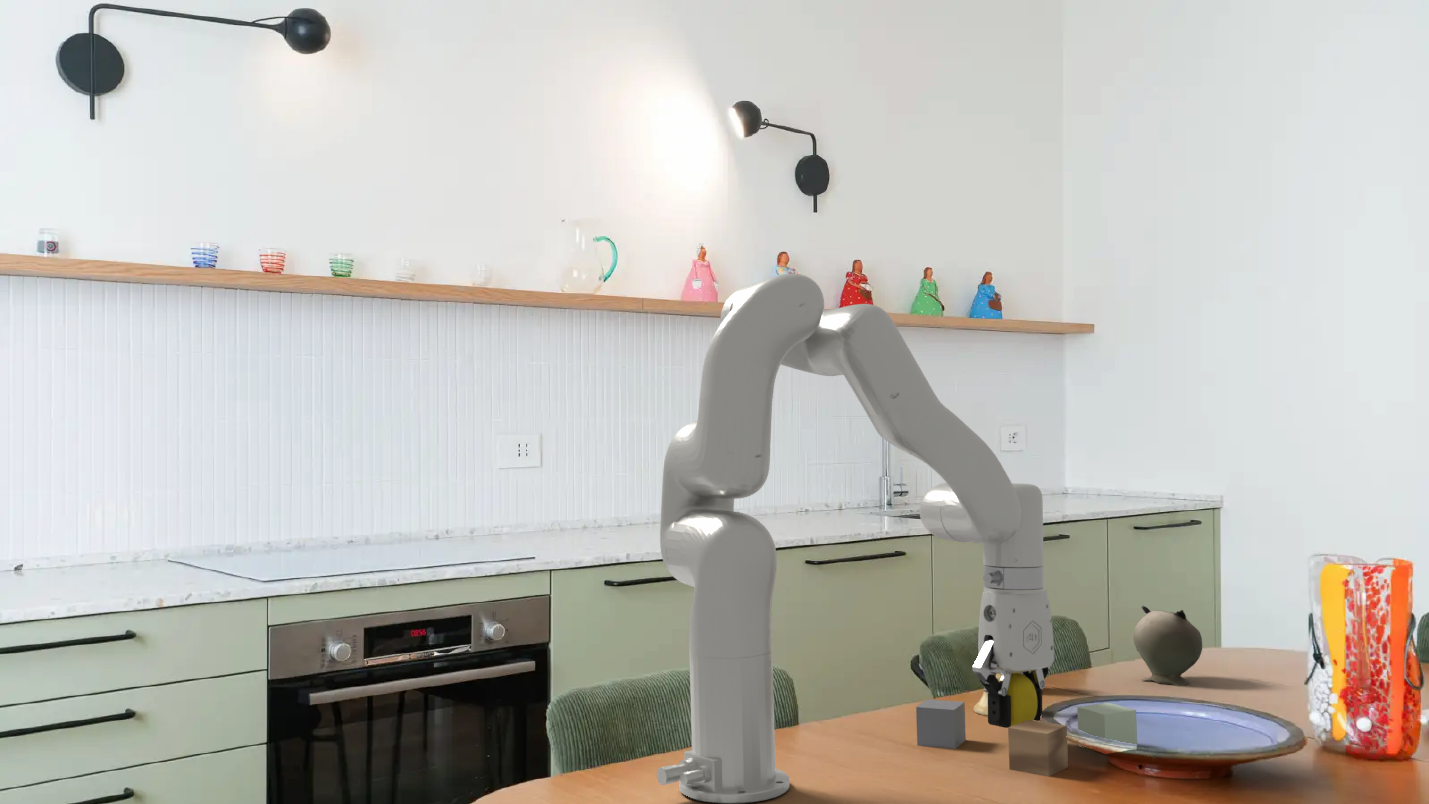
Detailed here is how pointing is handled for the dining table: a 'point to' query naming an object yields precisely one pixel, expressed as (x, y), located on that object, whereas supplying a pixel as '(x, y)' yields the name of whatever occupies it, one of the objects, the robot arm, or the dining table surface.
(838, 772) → the dining table surface
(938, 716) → the charcoal cube
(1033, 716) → the lemon
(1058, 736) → the walnut cube
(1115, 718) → the sage cube
